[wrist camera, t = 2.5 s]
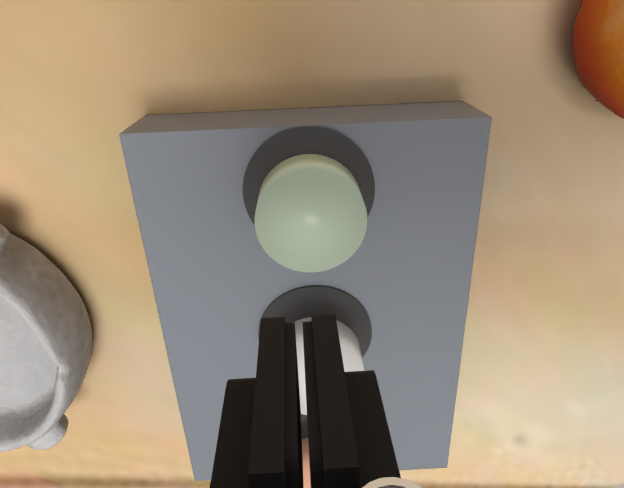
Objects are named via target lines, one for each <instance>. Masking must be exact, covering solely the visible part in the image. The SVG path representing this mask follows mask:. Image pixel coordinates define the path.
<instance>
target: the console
mask: <svg viewBox="0 0 624 488" xmlns="http://www.w3.org/2000/svg"><path fill="white" fill-rule="evenodd" d="M490 125H491V117H490V116H488V115H487V114H485V113H483V112H481V111H479V110H478V109H476V108H474V107H472V106H471V105H469V104H467V103H465V102H463V101H452V102H429V103H407V104H385V105H363V106H341V107H318V108H296V109H274V110H252V111H230V112H207V113H185V114H163V115H145V116H144V117H143V118H141V119H140V120H138V121H137V122H136V123H134V124H133V125H131V126H130V127H129V128H127V129H126V130H124V131H123V132H121V133H120V134H119V135H120V140H121V144H122V149H123V153H124V158H125V163H126V167H127V172H128V176H129V181H130V185H131V190H132V195H133V199H134V204H135V208H136V213H137V217H138V222H139V227H140V231H141V236H142V240H143V245H144V249H145V254H146V259H147V263H148V268H149V272H150V277H151V281H152V286H153V291H154V295H155V300H156V304H157V309H158V314H159V318H160V323H161V327H162V332H163V336H164V341H165V346H166V350H167V355H168V359H169V364H170V368H171V373H172V378H173V382H174V387H175V391H176V396H177V400H178V405H179V410H180V414H181V419H182V423H183V428H184V432H185V437H186V442H187V446H188V451H189V455H190V460H191V464H192V469H193V474H194V478H195V481H203V480H211V477H212V471H213V464H214V458H215V452H216V445H217V439H218V433H219V427H220V420H221V414H222V408H223V401H224V395H225V389H226V384H227V381H228V379H242V378H256V370H257V358H258V346H259V334H260V322H261V318H267V317H284V316H285V320H286V323H292V322H295V321H297V320H300V319H304V318H308V317H311V315H318V314H334V313H335V315H336V320H337V321H339V322H341V323H343V324H345V325H346V326H347V327H349V328H350V329H351V330H352V331H353V333H354V334H355V335H356V337H357V339H358V342H359V345H360V351H361V356H362V361H363V367H364V371H369V370H374V372H375V374H376V378H377V382H378V386H379V390H380V394H381V398H382V402H383V406H384V411H385V415H386V419H387V423H388V427H389V431H390V435H391V440H392V444H393V448H394V452H395V456H396V460H397V464H398V469H399V470H413V469H433V468H447V464H448V456H449V448H450V440H451V432H452V424H453V416H454V408H455V400H456V393H457V385H458V377H459V369H460V361H461V353H462V345H463V337H464V330H465V322H466V314H467V306H468V298H469V290H470V282H471V274H472V267H473V259H474V251H475V243H476V235H477V227H478V219H479V211H480V204H481V196H482V188H483V180H484V172H485V164H486V156H487V148H488V140H489V133H490ZM303 154H317V155H323V156H326V157H329V158H332V159H334V160H336V161H338V162H339V163H341V164H342V165H343V166H345V167H346V168H347V169H348V170H349V171H350V172H351V174H352V175H353V177H354V178H355V180H356V182H357V184H358V187H359V189H360V192H361V195H362V198H363V201H364V204H365V207H366V211H367V229H366V233H365V236H364V239H363V241H362V243H361V245H360V247H359V248H358V249H357V251H356V252H355V253H354V254H353V255H352V256H351V257H350V258H349V259H348V260H346V261H345V262H344V263H342V264H340V265H338V266H336V267H334V268H332V269H329V270H325V271H321V272H299V271H295V270H292V269H289V268H286V267H284V266H282V265H280V264H279V263H277V262H276V261H274V260H273V259H272V258H271V257H270V256H269V255H268V254H267V253H266V252H265V251H264V249H263V248H262V246H261V244H260V242H259V240H258V238H257V235H256V231H255V220H254V219H255V211H256V206H257V201H258V196H259V192H260V188H261V186H262V183H263V181H264V180H265V178H266V176H267V175H268V174H269V172H270V171H271V170H272V169H273V168H274V167H275V166H277V165H278V164H279V163H281V162H283V161H284V160H286V159H288V158H291V157H294V156H298V155H303ZM301 427H302V440H303V439H306V438H308V424H307V415H304V414H301Z"/></svg>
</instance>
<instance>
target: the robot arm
mask: <svg viewBox="0 0 624 488" xmlns="http://www.w3.org/2000/svg"><path fill="white" fill-rule="evenodd" d="M311 319H312V321H308V322H302V324H303V344H304V364H305V384H306V404H307V424H308V444H309V463H310V481H311V488H422V487H421V486H419V485H417V484H415V483H413V482H411V481H409V480H406V479H402V478H401V477H400V473H399V469H398V464H397V460H396V456H395V452H394V448H393V444H392V440H391V435H390V431H389V427H388V423H387V419H386V415H385V411H384V406H383V402H382V398H381V394H380V390H379V386H378V382H377V378H376V374H375V372H374V370H369V371H353V372H344V365H343V359H342V353H341V346H340V340H339V334H338V327H337V321H336V315H335V313H334V314H318V315H311ZM210 488H304V484H303V455H302V427H301V408H300V393H299V378H298V363H297V348H296V333H295V322H292V323H286V320H285V316H284V317H267V318H261V322H260V334H259V346H258V358H257V370H256V378H242V379H228V381H227V384H226V389H225V395H224V401H223V408H222V414H221V420H220V427H219V433H218V439H217V445H216V452H215V458H214V464H213V471H212V477H211V483H210Z"/></svg>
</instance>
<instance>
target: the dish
mask: <svg viewBox="0 0 624 488" xmlns="http://www.w3.org/2000/svg"><path fill="white" fill-rule="evenodd" d="M91 351H92V327H91V323H90V319H89V316H88V313H87V310H86V308H85V305H84V303H83V301H82V299H81V297H80V296H79V294H78V292H77V291H76V289H75V288H74V286H73V285H72V284H71V283H70V281H69V280H68V279H67V278H66V276H65V275H64V274H63V273H62V272H61V271H60V270H59V268H57V267H56V266H55V265H54V264H53V263H52V262H51V261H50V260H49V259H48V258H47V257H45V256H44V255H43V254H42V253H41V252H40V251H38V250H37V249H36V248H34V247H33V246H31V245H30V244H28V243H27V242H25V241H24V240H22V239H20V238H18V237H17V236H15V235H13V234H11V233H10V232H9V231H8V230H7V229H6V228H5V227H4V226H3V225H2V224H0V451H9V450H13V449H16V448H20V447H23V446H26V445H29V447H31V448H33V449H37V450H43V449H50V448H52V447H53V446H55V445H56V444H57V443H59V442H60V441H61V440H62V438H63V437H64V435H65V433H66V430H67V427H68V419H67V417H66V416H65V415H64V413H65V411H66V410H67V409H68V407H69V406H70V404H71V403H72V401H73V399H74V398H75V396H76V394H77V392H78V391H79V389H80V386H81V384H82V382H83V380H84V377H85V374H86V371H87V369H88V365H89V361H90V357H91Z"/></svg>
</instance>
